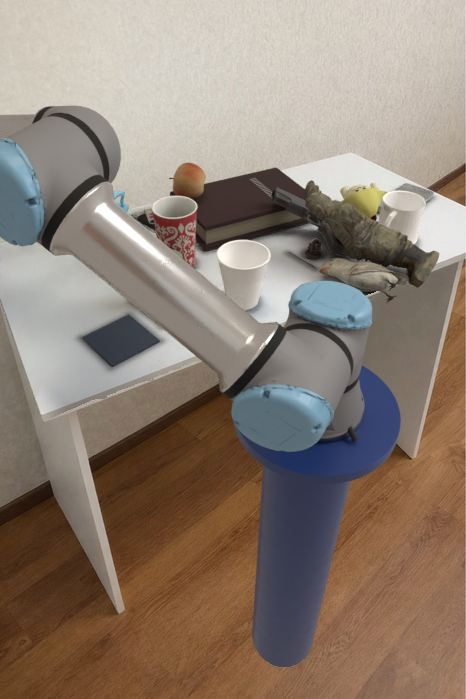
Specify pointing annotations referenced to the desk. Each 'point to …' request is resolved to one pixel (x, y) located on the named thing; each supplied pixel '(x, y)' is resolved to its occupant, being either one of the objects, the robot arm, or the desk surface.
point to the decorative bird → (364, 275)
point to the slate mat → (121, 340)
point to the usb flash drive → (146, 217)
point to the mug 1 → (177, 224)
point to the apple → (188, 181)
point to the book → (244, 208)
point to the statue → (370, 237)
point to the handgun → (308, 218)
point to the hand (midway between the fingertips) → (43, 172)
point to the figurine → (313, 250)
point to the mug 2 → (403, 212)
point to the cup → (243, 270)
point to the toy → (364, 198)
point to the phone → (415, 189)
